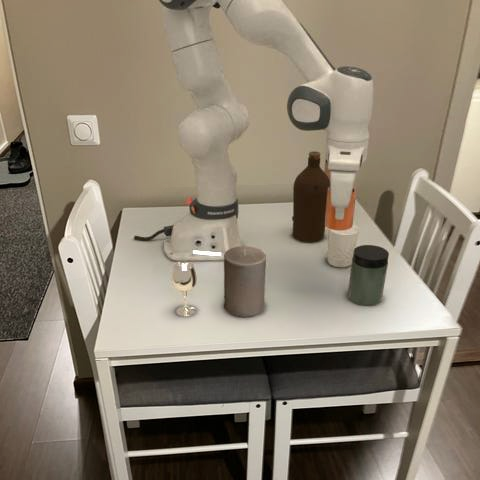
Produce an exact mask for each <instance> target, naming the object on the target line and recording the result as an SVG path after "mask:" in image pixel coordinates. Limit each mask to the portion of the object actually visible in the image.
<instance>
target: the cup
mask: <svg viewBox="0 0 480 480" xmlns="http://www.w3.org/2000/svg"><path fill="white" fill-rule="evenodd" d="M356 198H357V189H356V187H354V186H353V190H352V194H351V199H350V203H349V206H348V207H347V208H345V210H344V217H343V219H342V220H339V219H336V218H335V214H336V208H335V207H333V206H332V205H331V193H330V187H328V192H327V204H326V215H325V228H327V229H328V230H329V229H332V230H338V231H342V230H348V229H350V228H352V225H354V218H355V217H354V216H355V207H356Z"/></svg>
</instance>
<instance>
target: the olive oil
mask: <svg viewBox="0 0 480 480" xmlns="http://www.w3.org/2000/svg"><path fill="white" fill-rule="evenodd" d="M328 187H330V180H329V178H328V176H327V175H326V174H325V173H324V170H323V169H322V167H321V152H319V151H316V150H315V151H309V152H308V156H307V166H306V167H305V168H304V169H303V170H302V171H301V172H299V173H298V174H297V176H296V177H295V179H294V182H293V192H292V193H293V194H292V196H293V197H292V201H293V203H292V206H293V207H292V210H293V211H292V216H291V221H292V237H293V239H295V240H296V241H299V242H302V243H308V244H309V243H319V242H321V241H322V240H323V239H324V237H325V233H326V226H325V215H326V204H327V192H328Z"/></svg>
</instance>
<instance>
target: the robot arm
mask: <svg viewBox="0 0 480 480" xmlns="http://www.w3.org/2000/svg"><path fill="white" fill-rule="evenodd" d="M158 1H159V3H160V4H161V5H162V6H163V9H162V18H163V27H164V32H165V37H166V41H167V46H168V49H169V53H170V56H171V59H172V63H173V65H174V70H175V72H176V76H177V80H178V83H179V85H180V88H182V89H183V90H184V91H186V92H187V93H188V94H189V95H190V97H191V98H192V100H193V102H194V103H195V105H196V107H197V109H196V110H194V111H192V112H191V113H189V114H188V115H187V116H186V117H185V118H184V119H183V120H182V121H181V122H180V123H179V126H178V129H177V139H178V142H179V145H180V146H181V148H182V149H183V151H184V152H185V153H186V154H188V156H189V157H190V160H191V164H192V166H193V171H194V176H195V177H194V178H195V195H196V198H194V199H193V198H192V197H187V198H186V199H185V203H186V204H187V206H188V207H189V212H188V213H187V214H185V215H184V216H183V217H182V218H180V219H179V220H178V221H176V222H175V223H174V224H171V225H167V226H163V228H162V229H159V230H158V231H156V232H155V233H153V234H152V235H150V236H139V235H133V239H134V240H139V241H151V240H153V239H155V238H156V237H158V236H159V235H161V234H163V235H165V237H167V238H166V239H165V240H164V241H163V252H164V254H165V256H166V257H167V258H168V259H170V260H172V261H176V262H180V261H188V262H191V261H192V262H195V261H196V262H197V261H224V254H225V252H226V251H227V250H229V249H231V248H234V247H239V246H243V242H242V240H241V236H240V230H239V224H238V219H239V212H240V211H239V207H240V205H239V199H238V198H237V196H238V195H237V184H238V183H237V181H238V180H237V178H238V176H237V171H236V168H235V167H234V166H233V165H232V164H231V161H230V156H229V147H230V145H231V144H233V143H235V142H237V141H238V140H240V138H241V137H242V136H243V135H244V134H245V132H246V131H247V130H248V127H249V124H250V115H249V112H248V109H247V108H246V106H245V105H244V104H243V102H240V101H239V100H238V99H237V97H236V95H235V93H234V91H233V90H232V88H231V86H230V84H229V82H228V79H227V78H226V75H225V72H224V70H223V66H222V63H221V60H220V55H219V53H218V50H217V46H216V43H215V42H216V41H215V37H214V34H213V31H212V28H211V24H210V11H211V9H212V8H215V9H220V8H221V10H222V11H223V13H224V15H225V17H226V18H227V20H228V21H229V23H230V25H231V26H232V27H233V29H234V30H235V31H236V33H237V34H238V35H239V36H240V37H241V38H242V39H243V40H244V41H245V42H247V43H249V44H252V45H255V46H259V47H265V48H269V49H272V50H274V51H277V52H279V53H282V54H284V55H285V56H286V57H288V58H289V59H290V60H291V62H292V63H293V64H294V66H295V67H296V68H297V70H298V71H299V72H300V74H301V75H302V76H303V78H304V79H305V80H306V82H304V83H302V84H301V85H298V86H297V87H294V89H292V90H291V92H290V93H289V95H288V98H287V103H286V111H287V116H288V118H289V121H290V122H291V124H292V125H293V126H294V127H295V128H296V129H297V130H300V131H304V132H305V131H306V132H314V131H321V130H322V131H325V132H326V139H325V140H326V142H325V152H324V159H326V160H327V162H328V169H329V170H330V193H331V205H332V206H333V207H335V208H336V214H335V218H336V219H339V220H342V219H343V217H344V210H345V208H347V207H348V206H349V203H350V199H351V194H352V190H353V187H354V185H355V181H356V176H357V173H358V172H360V169H361V167H362V165H363V164H364V163H365V162H366V161H367V159H368V150H369V142H370V132H369V125H370V121H371V119H372V116H373V108H374V81H373V77H372V75H371V74H370V73H369V72H368V71H367V70H364V69H362V68H360V67H355V66H346V65H345V66H338V67H337V68H336V67H335V66H334V65H333V64H332V63H331V61H330V60H329V59H328V57H327V56H326V54H325V53H324V52H323V51H322V49H321V48H320V46H319V45H318V44H317V42H316V41H315V39H314V38H313V37H312V36H311V34H310V33H309V31H308V30H307V29H306V28H305V26H304V25H303V24H302V23H301V22H300V21H299V19H298V18H297V17H296V16H295V15H294V13H292V11H291V10H290V9H289V8H288V7H287V5H286V4H285V2H284V1H283V0H158Z"/></svg>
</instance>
